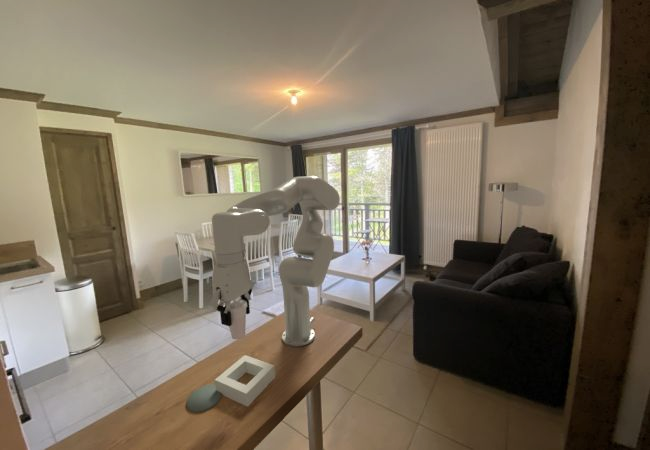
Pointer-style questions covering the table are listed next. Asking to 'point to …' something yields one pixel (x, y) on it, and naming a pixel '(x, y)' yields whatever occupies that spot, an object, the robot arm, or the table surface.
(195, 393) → the coaster
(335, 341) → the table surface
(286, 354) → the table surface
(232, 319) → the lidded cup with straw
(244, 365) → the holder
